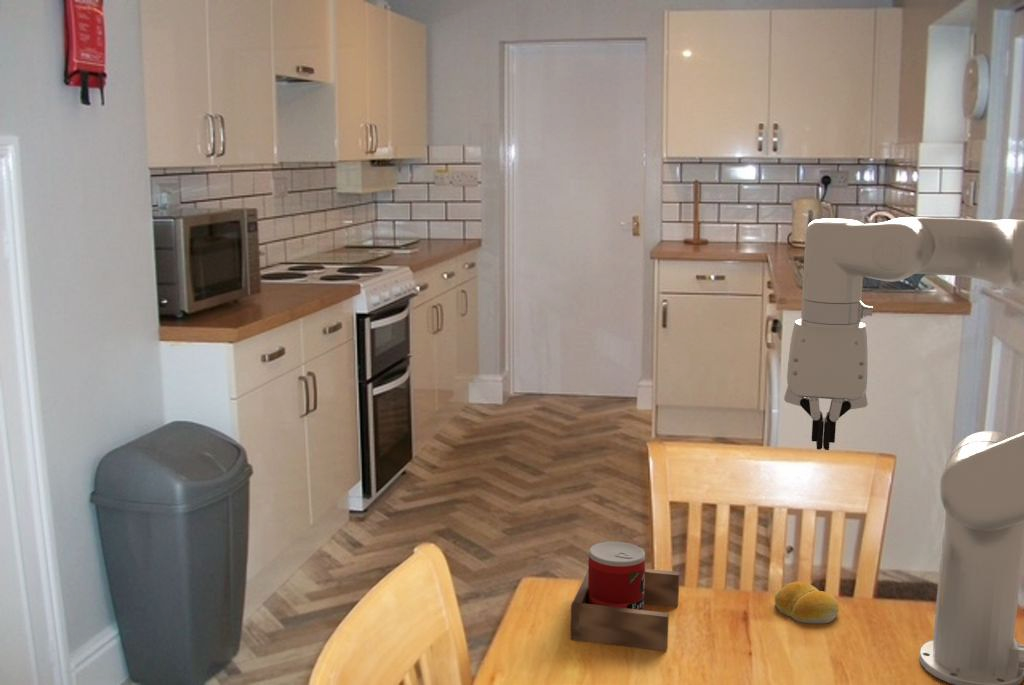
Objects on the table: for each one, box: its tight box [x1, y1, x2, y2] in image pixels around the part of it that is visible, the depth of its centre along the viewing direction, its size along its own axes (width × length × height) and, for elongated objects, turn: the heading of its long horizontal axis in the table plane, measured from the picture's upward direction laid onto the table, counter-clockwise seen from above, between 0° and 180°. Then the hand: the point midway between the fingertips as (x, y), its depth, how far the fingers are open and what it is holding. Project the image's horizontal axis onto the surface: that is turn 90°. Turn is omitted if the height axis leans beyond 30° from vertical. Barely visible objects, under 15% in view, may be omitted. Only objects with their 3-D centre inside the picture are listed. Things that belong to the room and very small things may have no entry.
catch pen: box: [570, 568, 680, 652], centre depth 151 cm, size 13×15×5 cm
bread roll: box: [774, 581, 839, 625], centre depth 155 cm, size 8×9×4 cm
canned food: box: [587, 541, 646, 610], centre depth 150 cm, size 8×8×11 cm
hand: (822, 446), depth 143 cm, fingers closed
